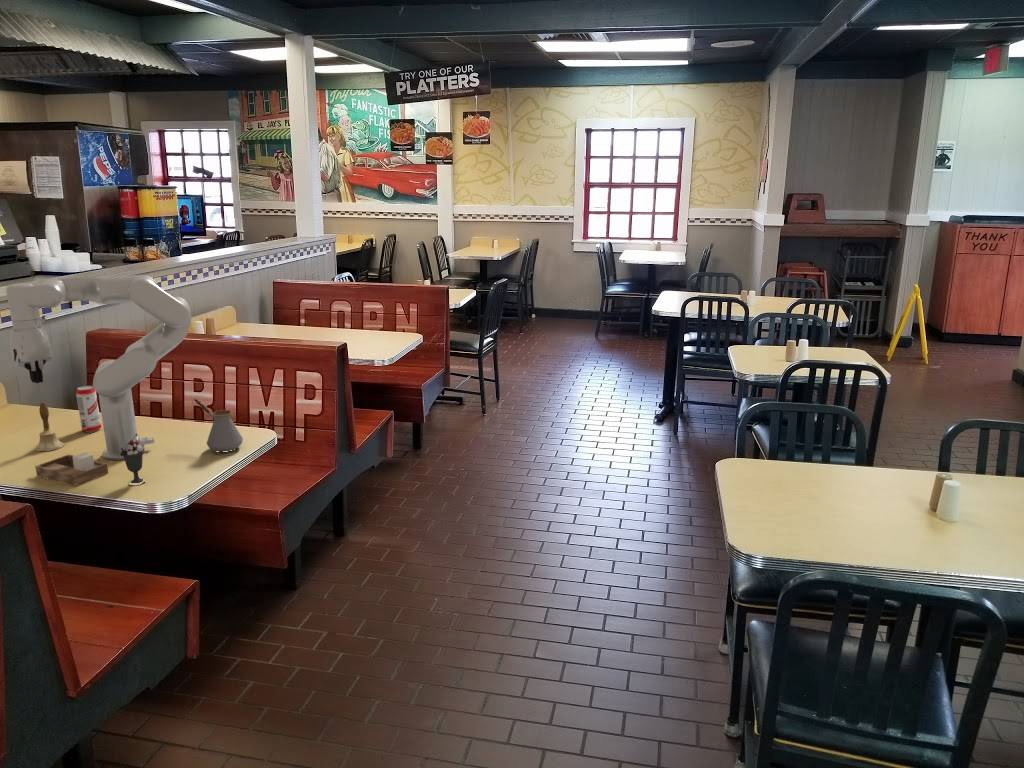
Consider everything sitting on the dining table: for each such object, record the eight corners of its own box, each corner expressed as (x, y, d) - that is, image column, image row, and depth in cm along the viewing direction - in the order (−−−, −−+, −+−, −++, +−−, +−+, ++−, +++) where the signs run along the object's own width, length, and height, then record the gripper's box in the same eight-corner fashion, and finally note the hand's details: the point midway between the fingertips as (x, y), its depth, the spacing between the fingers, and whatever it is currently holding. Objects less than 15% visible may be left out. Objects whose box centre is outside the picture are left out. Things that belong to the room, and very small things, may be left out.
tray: (37, 475, 237) (35, 466, 236) (70, 463, 246) (68, 454, 245) (75, 486, 229) (74, 476, 228) (108, 473, 239) (106, 463, 238)
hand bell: (47, 442, 264) (39, 398, 260) (69, 443, 263) (61, 399, 259) (29, 451, 256) (21, 405, 252) (52, 452, 255) (43, 407, 251)
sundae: (152, 477, 235) (146, 431, 231) (143, 486, 229) (136, 439, 224) (131, 478, 235) (124, 432, 231) (121, 487, 228) (113, 440, 224)
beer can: (78, 432, 274) (70, 389, 270) (91, 426, 280) (85, 384, 276) (92, 433, 273) (85, 390, 268) (105, 428, 278) (99, 386, 274)
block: (74, 468, 236) (72, 456, 235) (86, 464, 240) (84, 452, 238) (82, 471, 234) (80, 459, 233) (94, 466, 238) (92, 454, 237)
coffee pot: (250, 447, 260) (246, 405, 256) (220, 457, 251) (216, 414, 247) (213, 434, 272) (209, 394, 268) (183, 444, 263) (178, 402, 259)
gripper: (42, 318, 242) (52, 374, 247) (-6, 327, 229) (5, 386, 234) (58, 321, 239) (67, 377, 244) (10, 330, 226) (21, 389, 231)
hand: (37, 381), depth 239 cm, fingers closed
